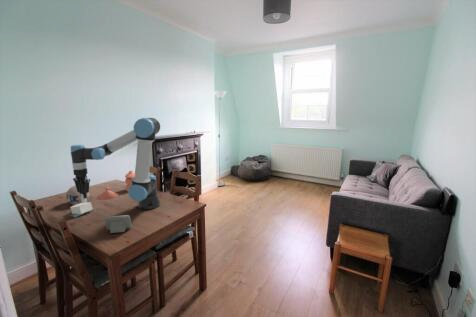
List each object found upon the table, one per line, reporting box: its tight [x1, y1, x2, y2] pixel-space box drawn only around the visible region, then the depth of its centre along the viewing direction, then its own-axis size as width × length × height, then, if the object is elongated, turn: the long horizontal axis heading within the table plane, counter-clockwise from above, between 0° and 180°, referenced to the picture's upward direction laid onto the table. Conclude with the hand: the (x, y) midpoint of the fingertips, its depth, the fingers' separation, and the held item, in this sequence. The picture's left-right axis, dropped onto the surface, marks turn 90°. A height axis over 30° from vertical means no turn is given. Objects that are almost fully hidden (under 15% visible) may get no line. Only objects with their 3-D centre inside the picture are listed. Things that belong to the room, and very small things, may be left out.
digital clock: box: [103, 214, 133, 234], centre depth 137 cm, size 14×8×9 cm, turn 90°
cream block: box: [69, 201, 93, 215], centre depth 159 cm, size 5×8×10 cm
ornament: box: [65, 184, 91, 206], centre depth 174 cm, size 15×15×15 cm
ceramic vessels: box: [96, 170, 135, 201], centre depth 192 cm, size 35×21×19 cm, turn 137°
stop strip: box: [72, 207, 94, 218], centre depth 159 cm, size 2×13×2 cm, turn 161°
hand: (84, 202), depth 157 cm, fingers closed
